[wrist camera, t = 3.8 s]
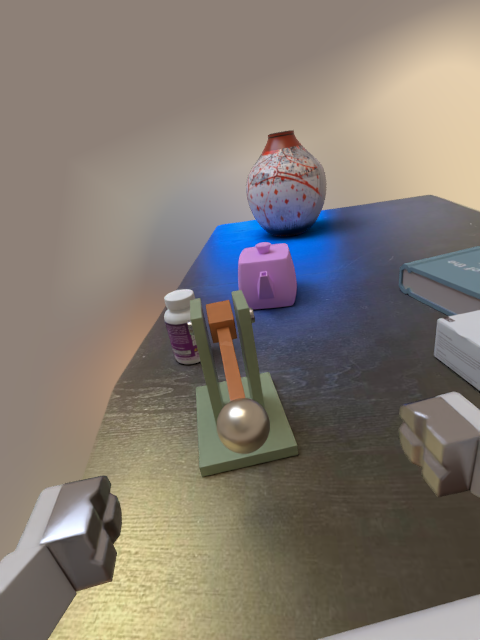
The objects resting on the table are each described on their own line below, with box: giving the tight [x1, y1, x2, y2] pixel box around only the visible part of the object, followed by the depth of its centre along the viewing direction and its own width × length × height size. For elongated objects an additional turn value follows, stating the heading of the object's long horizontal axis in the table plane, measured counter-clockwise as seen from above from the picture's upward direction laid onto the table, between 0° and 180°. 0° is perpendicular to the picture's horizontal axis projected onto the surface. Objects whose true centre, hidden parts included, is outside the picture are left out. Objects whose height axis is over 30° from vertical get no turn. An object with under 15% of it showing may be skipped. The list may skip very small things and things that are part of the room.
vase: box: [246, 131, 326, 236], centre depth 102 cm, size 23×23×28 cm
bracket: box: [187, 290, 298, 477], centre depth 34 cm, size 12×9×14 cm
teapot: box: [238, 242, 297, 310], centre depth 63 cm, size 18×10×10 cm, turn 174°
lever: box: [206, 300, 270, 454], centre depth 27 cm, size 14×4×4 cm, turn 8°
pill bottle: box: [164, 289, 200, 364], centre depth 49 cm, size 5×5×10 cm
